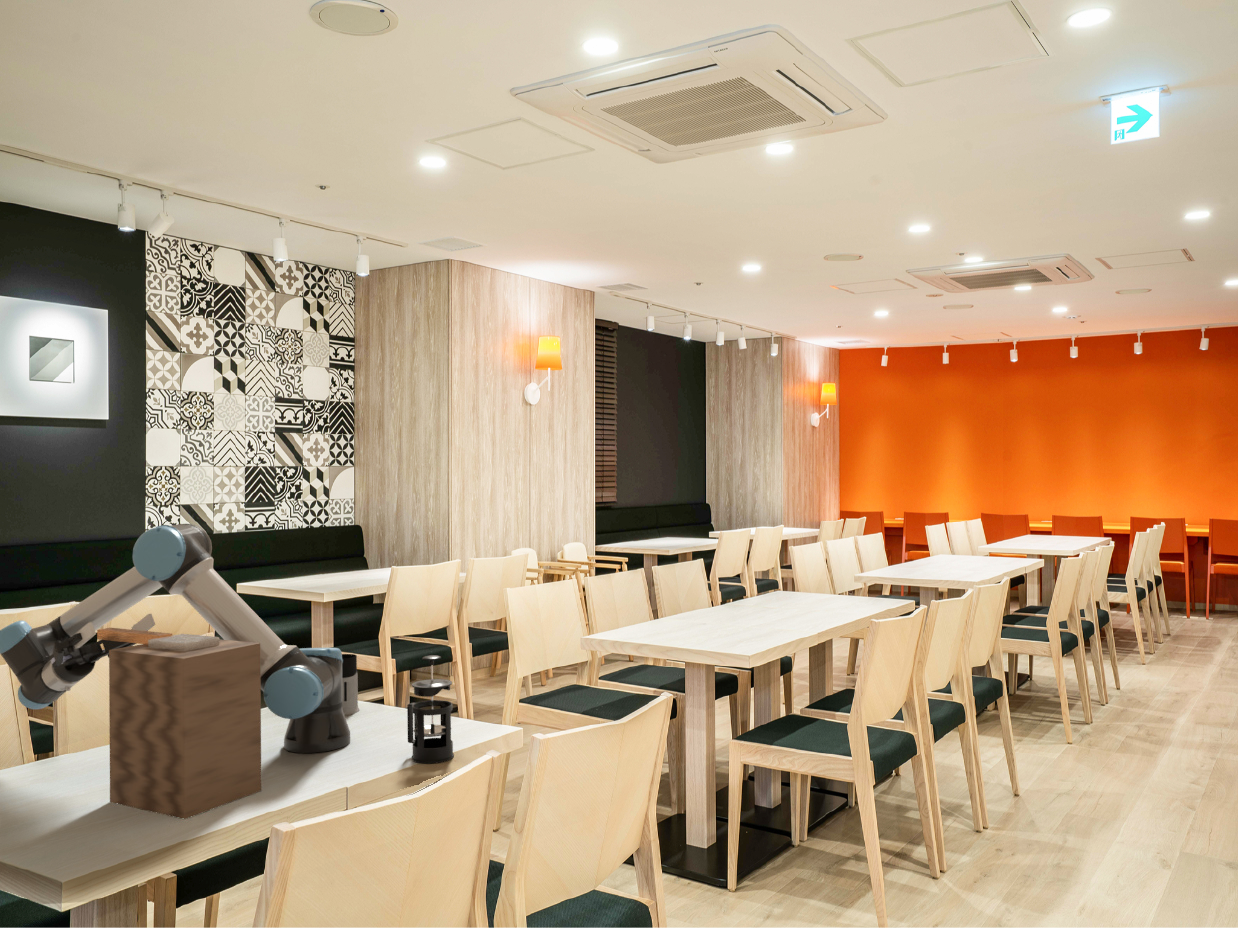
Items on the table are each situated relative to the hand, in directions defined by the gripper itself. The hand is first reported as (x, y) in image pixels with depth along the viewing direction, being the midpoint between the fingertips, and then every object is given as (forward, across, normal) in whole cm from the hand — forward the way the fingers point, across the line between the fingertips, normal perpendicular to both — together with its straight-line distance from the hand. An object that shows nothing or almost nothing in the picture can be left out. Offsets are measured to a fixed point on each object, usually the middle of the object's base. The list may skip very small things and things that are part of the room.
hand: (123, 623), depth 201 cm
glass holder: (-18, -64, -29) cm, 72 cm away
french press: (+24, -42, -53) cm, 72 cm away
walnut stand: (0, 0, -39) cm, 39 cm away
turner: (+6, 0, -8) cm, 10 cm away
